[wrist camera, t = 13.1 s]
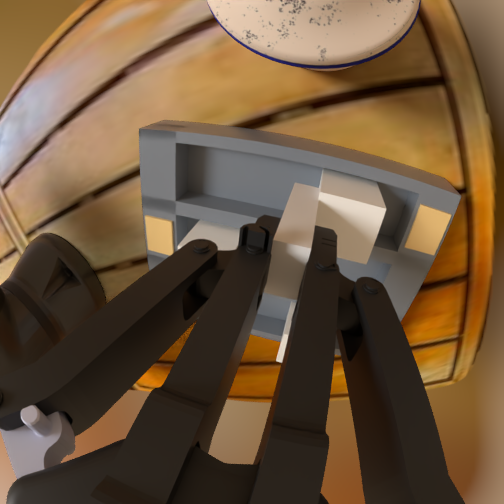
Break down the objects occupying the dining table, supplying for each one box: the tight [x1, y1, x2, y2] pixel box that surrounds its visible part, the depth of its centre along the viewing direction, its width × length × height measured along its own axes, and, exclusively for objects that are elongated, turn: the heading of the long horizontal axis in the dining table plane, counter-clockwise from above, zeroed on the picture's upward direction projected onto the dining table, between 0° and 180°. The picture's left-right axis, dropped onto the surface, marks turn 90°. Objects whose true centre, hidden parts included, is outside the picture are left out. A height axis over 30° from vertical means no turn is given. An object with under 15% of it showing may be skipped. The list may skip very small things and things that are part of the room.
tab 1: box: [178, 220, 240, 250], centre depth 22 cm, size 4×4×5 cm
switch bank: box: [139, 120, 461, 355], centre depth 23 cm, size 22×17×4 cm
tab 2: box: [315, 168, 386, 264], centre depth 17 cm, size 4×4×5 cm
